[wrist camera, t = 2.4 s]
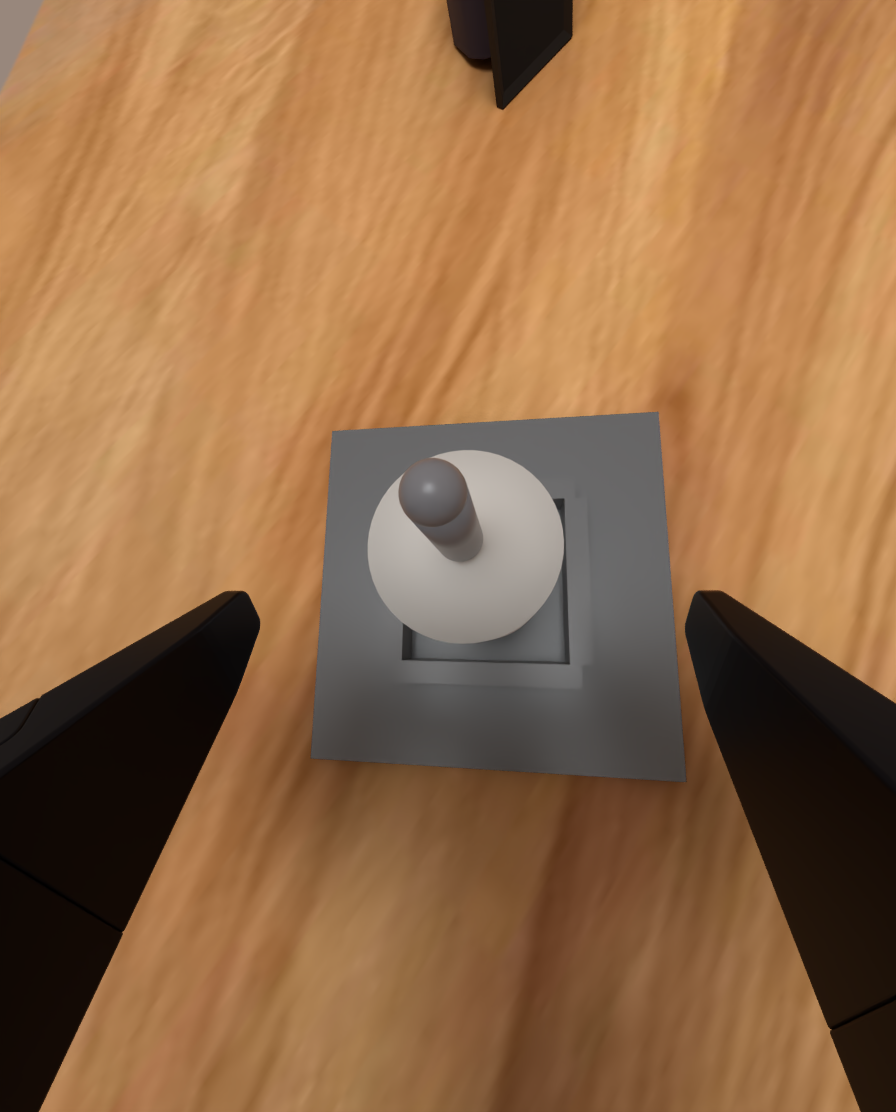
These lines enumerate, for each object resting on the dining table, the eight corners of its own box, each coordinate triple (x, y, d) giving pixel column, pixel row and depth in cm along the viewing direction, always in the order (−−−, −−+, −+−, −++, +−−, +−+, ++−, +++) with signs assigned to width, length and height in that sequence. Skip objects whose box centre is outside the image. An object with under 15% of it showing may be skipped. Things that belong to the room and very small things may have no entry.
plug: (563, 603, 17) (672, 536, 5) (465, 659, 17) (355, 716, 5) (505, 511, 18) (486, 276, 6) (413, 564, 18) (226, 437, 6)
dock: (681, 777, 16) (705, 798, 14) (316, 754, 18) (291, 769, 16) (654, 417, 18) (671, 391, 16) (336, 436, 20) (317, 414, 18)
